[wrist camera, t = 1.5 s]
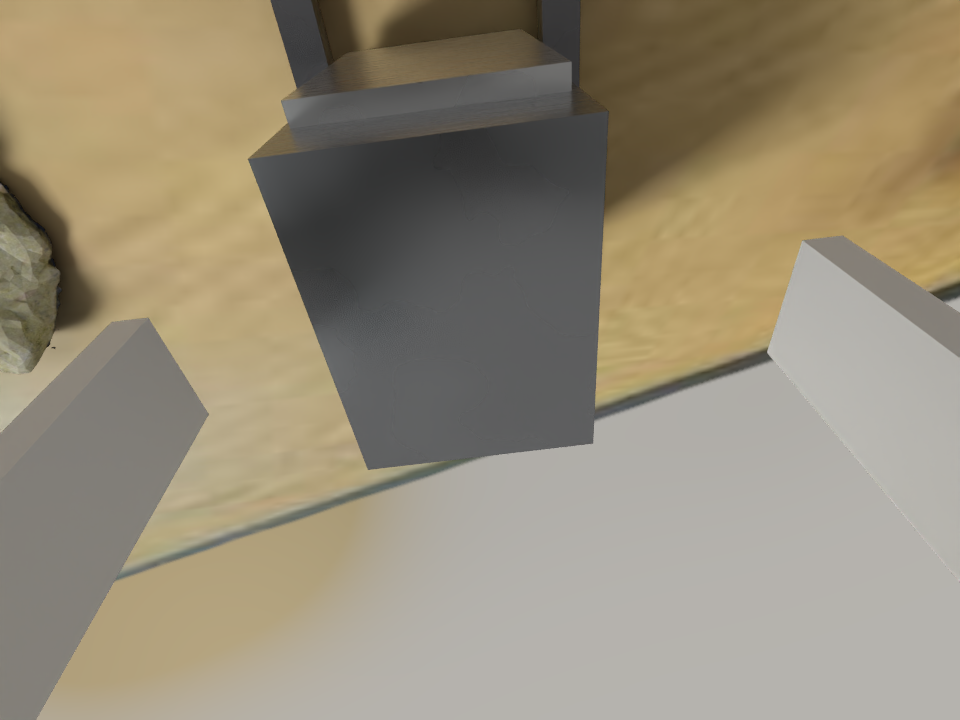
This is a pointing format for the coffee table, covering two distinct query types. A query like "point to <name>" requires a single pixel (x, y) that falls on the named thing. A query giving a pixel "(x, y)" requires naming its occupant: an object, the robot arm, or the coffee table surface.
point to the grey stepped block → (447, 242)
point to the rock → (25, 288)
